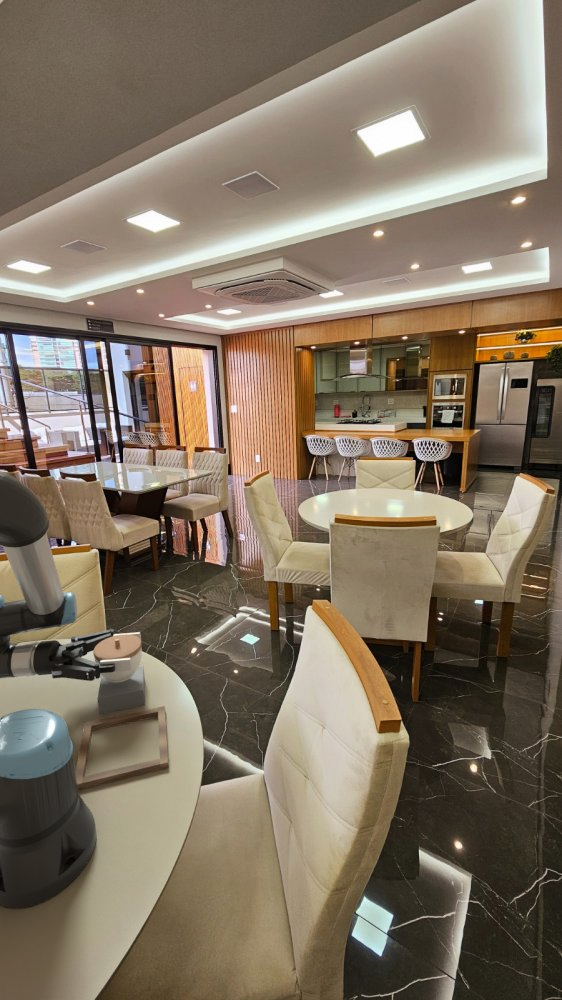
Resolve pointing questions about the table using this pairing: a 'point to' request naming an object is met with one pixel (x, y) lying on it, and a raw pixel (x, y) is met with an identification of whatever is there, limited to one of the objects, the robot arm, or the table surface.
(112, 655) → the lidded jar
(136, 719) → the walnut collar
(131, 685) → the gray stand
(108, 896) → the table surface
